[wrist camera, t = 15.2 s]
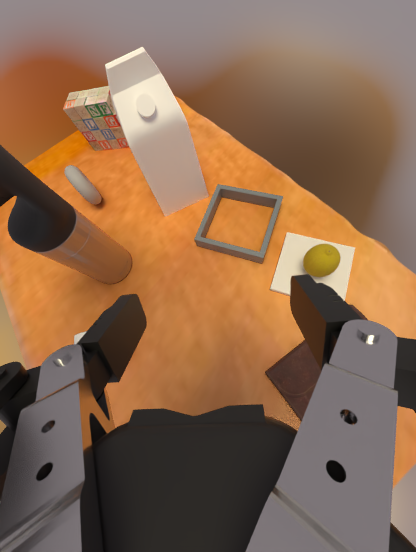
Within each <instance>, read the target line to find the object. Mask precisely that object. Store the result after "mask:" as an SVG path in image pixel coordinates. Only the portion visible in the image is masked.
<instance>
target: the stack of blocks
mask: <svg viewBox="0 0 416 552" xmlns="http://www.w3.org/2000/svg"><path fill="white" fill-rule="evenodd" d="M63 110H64V111H65V112H66V113H67V115H68V116H69V117H70V119H72V121H73V123H74V124H75V125H76V127H77V128H78V129H79V131H80V132H81V133H82V134H83V135H84V137H85V138H86V139H87V140H88V142H89V143H90V145H91V146H92V147H93V148H94V150H95V151H98V150H110V149H120V148H127V147H129V144H128V142H127V140H126V137H125V135H124V132H123V130H122V127H121V125H120V122H119V120H118V117H117V115H116V112H115V110H114V107H113V103H112V99H111V94H110V89H109V86H106V87H101V88H95V89H90V90H84V91H80V92H79V91H77V92H71V93H69V96H68V98H67V101H66V103H65V106H64V108H63Z"/></svg>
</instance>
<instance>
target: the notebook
mask: <svg viewBox="0 0 416 552" xmlns="http://www.w3.org/2000/svg"><path fill="white" fill-rule="evenodd" d="M349 306H350V307H351V308H352V309H353V310H354V311H355V312H356V313H357V314H358V315H359V316H360V317H361V318H362V319H363V320H367V318H366V317H365V316H364V315H363V314H362V313H361V312H360V311H359V310H358V309H356V308H355V307H354V306H353V305H349ZM321 372H322V371H321V369H320V367H319V366H318V364H317V362H316V360H315V358H314V356H313V354H312V352H311V350H310V348H309V346H308V344H307V342H306V340H305V341H303V342H302V343H301V344H300V345H298V346H297V347H296V348H295V349H293V350H292V351H291V352H290V353H288V354H287V355H286V356H285V357H283V358H282V359H281V360H280V361H278V362H277V363H276V364H275V365H273V366H272V367H271V368H270V369H268V370H267V371H266V372H265V373H266V374H267V376H268V377H269V378H270V380H271V381H272V382H273V384H274V385H275V386H276V388H277V389H278V390H279V392H280V393H281V394H282V396H283V397H284V398H285V400H286V401H287V402H288V404H289V405H290V406H291V408H292V409H293V410H294V412H295V413H296V414H297V416H298V417H299V418H300V420H301V421H302V419H303V417H304V414H305V412H306V409H307V407H308V404H309V402H310V399H311V397H312V394H313V392H314V389H315V387H316V384H317V382H318V379H319V377H320V374H321Z"/></svg>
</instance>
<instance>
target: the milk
mask: <svg viewBox="0 0 416 552" xmlns="http://www.w3.org/2000/svg"><path fill="white" fill-rule="evenodd" d="M105 67H106V73H107V78H108V84H109V89H110V94H111V99H112V103H113V107H114V110H115V112H116V115H117V117H118V120H119V122H120V125H121V127H122V130H123V132H124V135H125V137H126V140H127V142H128V144H129V147H130V149H131V151H132V153H133V155H134V157H135V159H136V161H137V163H138V165H139V167H140V169H141V171H142V173H143V175H144V177H145V179H146V181H147V182H148V184H149V186H150V188H151V190H152V192H153V194H154V196H155V198H156V200H157V202H158V204H159V206H160V208H161V210H162V212H163V214H164V216H165V217H166V216H168V215H170V214H172V213H175V212H177V211H179V210H181V209H183V208H185V207H187V206H190V205H192V204H194V203H196V202H198V201H200V200H202V199H204V198H207V197H209V195H208V192H207V188H206V185H205V181H204V178H203V174H202V171H201V168H200V164H199V161H198V157H197V154H196V150H195V147H194V144H193V140H192V137H191V133H190V130H189V126H188V123H187V121H186V118H185V116H184V114H183V112H182V110H181V108H180V106H179V104H178V102H177V101H176V99H175V97H174V95H173V93H172V91H171V90H170V88H169V86H168V84H167V82H166V81H165V79H164V77H163V75H162V74H161V72H160V70H159V69H158V67H157V66H156V64H155V63H154V62H153V60H152V59H151V58H150V56H149V55H148V54H147V52H146V51H145V49H144V48H143V47H141V48H139V49H137V50H135V51H133V52H131V53H129V54H126V55H124V56H122V57H120V58H118V59H116V60H114V61H112V62H110V63H108V64H106V65H105Z"/></svg>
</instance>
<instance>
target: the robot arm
mask: <svg viewBox="0 0 416 552" xmlns="http://www.w3.org/2000/svg"><path fill="white" fill-rule="evenodd" d="M13 196H17V199H16V202H15V205H14V207H13V209H12V212H11V214H10V217H9V220H8V231H9V234H10V236H11V238H12V239H13V240H14V241H15V242H16V243H17V244H19V245H21V246H23V247H25V248H27V249H29V250H32V251H34V252H36V253H38V254H41V255H43V256H45V257H47V258H50V259H52V260H54V261H57V262H59V263H61V264H63V265H66V266H68V267H70V268H72V269H74V270H77V271H79V272H81V273H83V274H86V275H88V276H90V277H92V278H94V279H97V280H99V281H101V282H104V283H106V284H114V283H117V282H119V281H121V280H122V279H124V278H125V277H126V276H127V275H128V273H129V271H130V269H131V266H132V258H131V255H130V254H129V252H128V251H127V250H125V249H124V248H123V247H122V246H120V245H119V244H118V243H117V242H116V241H114V240H113V239H112V238H111V237H110V236H108V235H107V234H106V233H105V232H103V231H102V230H101V229H100V228H98V227H97V226H96V225H95V224H93V223H92V222H91V221H90V220H88V219H87V218H86V217H85V216H83V215H82V214H81V213H80V212H78V211H77V210H76V209H75V208H74V207H72V206H71V205H70V204H69V203H68V202H66V201H65V200H64V199H63V198H61V197H60V196H59V195H58V194H56V193H55V192H54V191H53V190H51V189H50V188H49V187H48V186H47V185H45V184H44V183H43V182H42V181H41V180H39V179H38V178H37V177H36V176H35V175H33V174H32V173H31V172H30V171H29V170H28V169H27V168H25V167H24V166H23V165H22V164H21V163H20V162H19V161H18V160H16V159H15V158H14V157H13V156H12V155H11V154H10V153H8V151H6V150H5V149H4V148H3V147H2V146H1V145H0V206H2V205H3V204H4V203H6V202H7V201H8V200H9V199H11V198H12V197H13ZM290 306H291V311H292V314H293V317H294V318H295V320H296V322H297V324H298V326H299V328H300V330H301V332H302V334H303V336H304V338H305V340H306V342H307V344H308V346H309V348H310V350H311V352H312V354H313V356H314V358H315V360H316V362H317V364H318V366H319V367H320V369H321V371H322V372H321V374H320V377H319V379H318V382H317V384H316V387H315V389H314V392H313V394H312V397H311V399H310V402H309V404H308V407H307V409H306V412H305V414H304V417H303V419H302V422H301V424H300V427H299V429H298V431H297V430H295V429H294V428H292V427H291V426H289V425H287V424H285V423H283V422H281V421H279V420H276V419H274V418H270V417H267V416H265V415H264V409H263V404H261V405H237V406H227V407H224V408H220V409H217V410H214V411H211V412H208V413H205V414H202V415H198V416H190V415H186V414H182V413H178V412H175V411H171V410H167V409H141V410H133V413H132V415H131V418H130V421H129V422H128V423H125V424H123V425H121V426H119V427H117V428H115V425H114V420H113V415H112V411H111V406H110V402H109V397H108V393H107V390H106V389H105V386H106V385H107V383H111V382H119V381H120V379H121V377H122V375H123V373H124V371H125V369H126V367H127V365H128V363H129V361H130V359H131V357H132V355H133V353H134V351H135V349H136V347H137V345H138V343H139V341H140V339H141V337H142V335H143V333H144V331H145V328H146V316H145V314H144V311H143V308H142V305H141V303H140V300H139V297H138V296H137V295H136V294H129V295H122V296H120V297H119V298H118V299H117V301H116V302H115V303H114V304H113V305H112V306H111V307H110V308H108V309H107V310H106V311H104V312H103V313H102V314H101V316H100V317H99V318H98V320H96V321H95V323H94V324H93V325H92V326H91V327H90V328H89V330H88V331H87V332H86V333H85V334H84V335H83V337H82V338H81V339H80V340H79V341H78V342H77V344H73V345H68V346H65V347H63V348H61V349H59V350H57V351H55V352H54V353H52V354H51V355H50V356H49V357H48V358H47V359H46V360H45V361H44V362H43V363H42V365H41V366H38V367H35V368H32V369H29V370H25V368H24V367H23V366H22V365H21V363H19V362H11V363H8V364H5V365H3V366H0V420H1V421H2V422H3V423H4V424H5V425H6V426H7V427H6V428H5V429H4V430H3V432H2V433H1V434H0V501H1V502H0V552H416V547H414V546H413V545H412V543H411V542H409V540H408V539H407V538H406V537H405V536H404V535H403V534H402V533H401V532H400V531H399V530H398V529H397V528H396V527H395V526H394V525H393V524H392V523H391V522H390V520H391V502H392V487H393V470H394V454H395V437H396V421H397V406H401V407H405V408H410V409H413V410H414V411H415V413H416V340H415V339H407V338H400V337H396V336H395V334H394V333H393V332H392V331H391V330H390V329H388V328H387V327H385V326H383V325H381V324H378V323H376V322H372V321H368V320H363V319H362V318H361V317H360V316H359V315H358V314H357V313H356V312H355V311H354V310H353V309H352V308H351V307H350V306H349V305H348V304H347V303H346V302H345V301H343V299H342V298H341V297H340V296H339V295H338V294H337V293H336V292H335V290H334V289H333V288H331V287H329V286H327V285H325V284H323V283H316V282H315V281H314V280H313V278H312V277H311V276H310V275H309V274H303V275H295V276H291V281H290Z"/></svg>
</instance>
